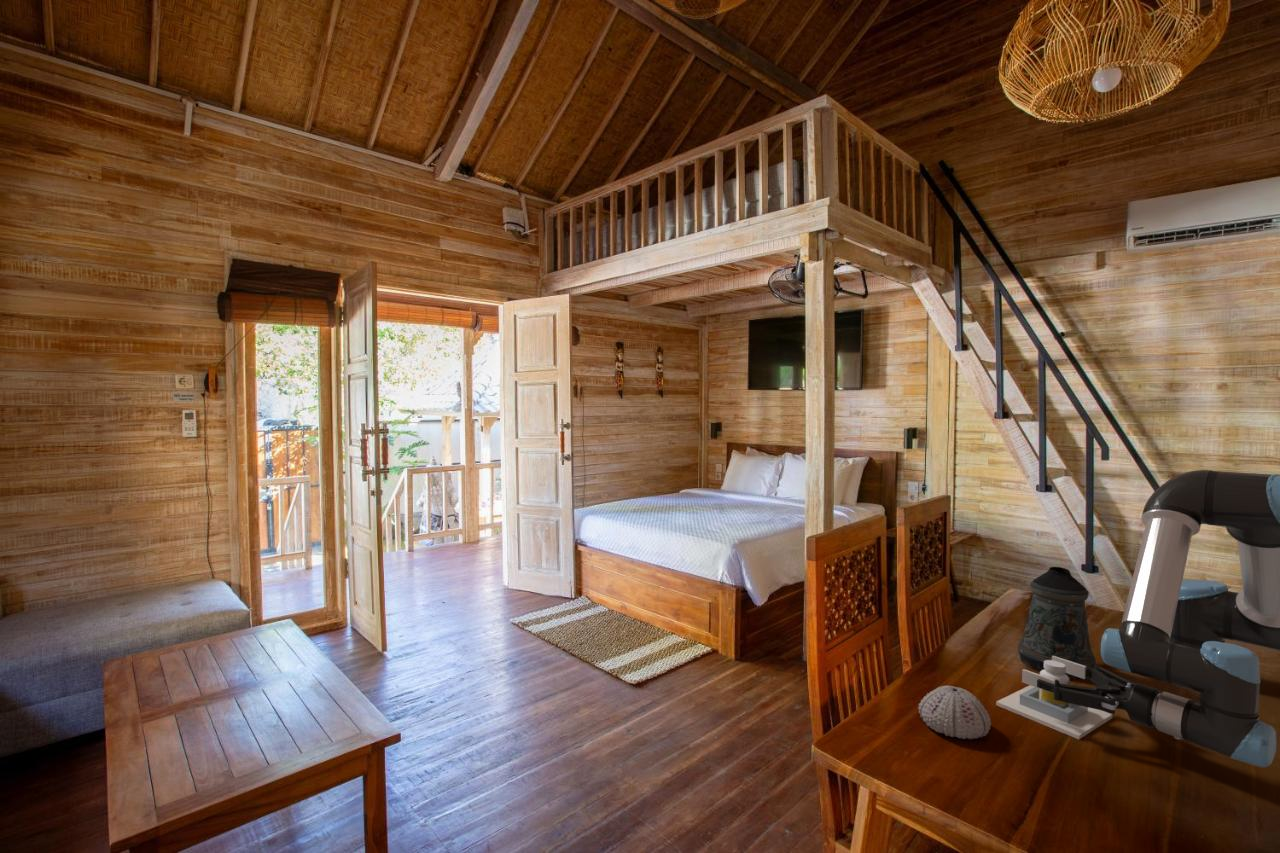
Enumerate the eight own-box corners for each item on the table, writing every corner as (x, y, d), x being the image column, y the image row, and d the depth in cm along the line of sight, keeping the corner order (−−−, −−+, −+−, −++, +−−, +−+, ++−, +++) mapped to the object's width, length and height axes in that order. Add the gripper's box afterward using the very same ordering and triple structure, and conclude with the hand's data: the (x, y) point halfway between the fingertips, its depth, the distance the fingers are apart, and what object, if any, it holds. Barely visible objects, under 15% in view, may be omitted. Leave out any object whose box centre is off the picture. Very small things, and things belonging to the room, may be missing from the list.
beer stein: (1036, 677, 148) (1039, 577, 147) (1001, 646, 167) (1004, 557, 166) (1110, 682, 145) (1114, 581, 144) (1066, 650, 164) (1070, 560, 163)
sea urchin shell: (997, 751, 116) (998, 710, 115) (920, 737, 120) (921, 697, 120) (984, 717, 128) (985, 681, 128) (914, 706, 133) (915, 670, 132)
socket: (1031, 687, 142) (1031, 675, 142) (1112, 717, 128) (1112, 704, 128) (996, 705, 133) (996, 691, 133) (1078, 739, 120) (1079, 724, 120)
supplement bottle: (1073, 714, 127) (1075, 669, 127) (1045, 711, 129) (1047, 667, 128) (1061, 703, 133) (1062, 659, 133) (1034, 700, 134) (1035, 657, 134)
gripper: (1132, 748, 109) (1008, 699, 127) (1180, 711, 122) (1063, 672, 140) (1133, 707, 108) (1010, 664, 126) (1182, 675, 122) (1064, 640, 140)
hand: (1037, 668), depth 133 cm, fingers open, 13 cm apart
